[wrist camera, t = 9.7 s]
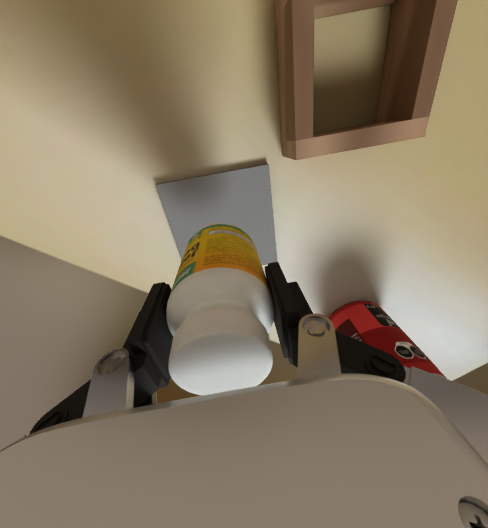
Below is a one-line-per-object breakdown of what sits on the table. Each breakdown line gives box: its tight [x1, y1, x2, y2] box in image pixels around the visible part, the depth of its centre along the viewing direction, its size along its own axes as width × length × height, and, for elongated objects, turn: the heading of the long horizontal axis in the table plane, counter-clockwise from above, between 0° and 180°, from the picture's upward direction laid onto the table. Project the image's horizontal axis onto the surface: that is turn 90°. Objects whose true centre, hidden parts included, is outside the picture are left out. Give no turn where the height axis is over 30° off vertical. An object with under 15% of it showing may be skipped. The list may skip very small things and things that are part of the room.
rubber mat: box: [155, 164, 277, 265], centre depth 21 cm, size 10×10×1 cm
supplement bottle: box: [166, 222, 275, 395], centre depth 12 cm, size 5×5×10 cm
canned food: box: [329, 301, 447, 379], centre depth 25 cm, size 8×8×11 cm
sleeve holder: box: [274, 0, 458, 160], centre depth 14 cm, size 9×9×4 cm
